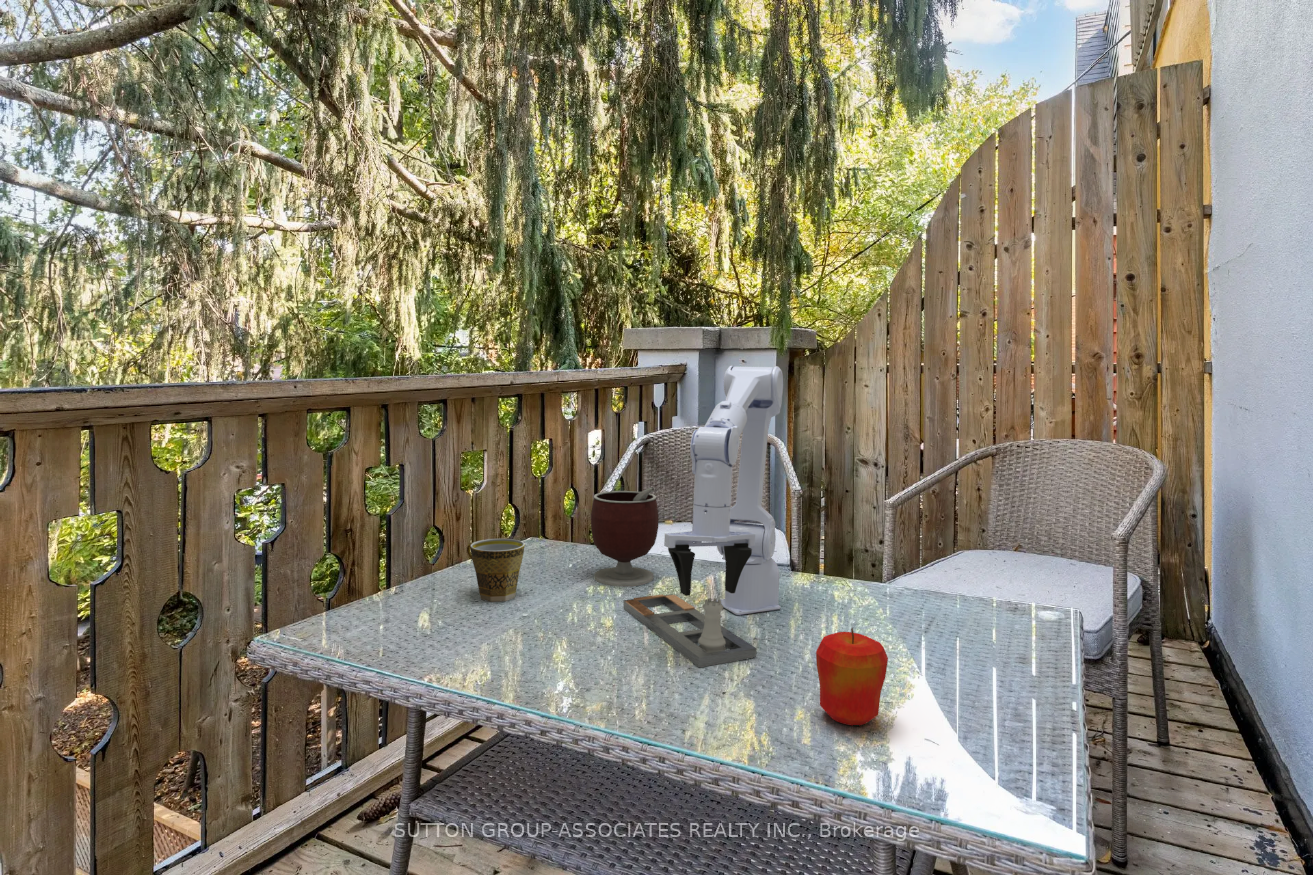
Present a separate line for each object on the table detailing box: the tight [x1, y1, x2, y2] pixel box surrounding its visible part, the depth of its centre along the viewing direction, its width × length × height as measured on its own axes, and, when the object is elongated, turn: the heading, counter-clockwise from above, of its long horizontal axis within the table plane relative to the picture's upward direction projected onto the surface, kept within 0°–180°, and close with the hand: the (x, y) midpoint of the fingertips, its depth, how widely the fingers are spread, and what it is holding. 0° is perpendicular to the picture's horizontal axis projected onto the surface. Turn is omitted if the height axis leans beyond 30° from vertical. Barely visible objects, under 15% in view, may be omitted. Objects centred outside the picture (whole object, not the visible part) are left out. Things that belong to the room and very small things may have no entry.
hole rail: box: [622, 593, 757, 668], centre depth 125 cm, size 10×29×2 cm, turn 25°
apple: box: [815, 627, 889, 726], centre depth 94 cm, size 9×8×12 cm
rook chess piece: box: [697, 597, 727, 653], centre depth 116 cm, size 4×4×8 cm
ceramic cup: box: [466, 538, 526, 603], centre depth 142 cm, size 13×10×10 cm
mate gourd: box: [590, 487, 660, 587], centre depth 154 cm, size 16×14×20 cm
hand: (707, 592), depth 116 cm, fingers open, 7 cm apart
